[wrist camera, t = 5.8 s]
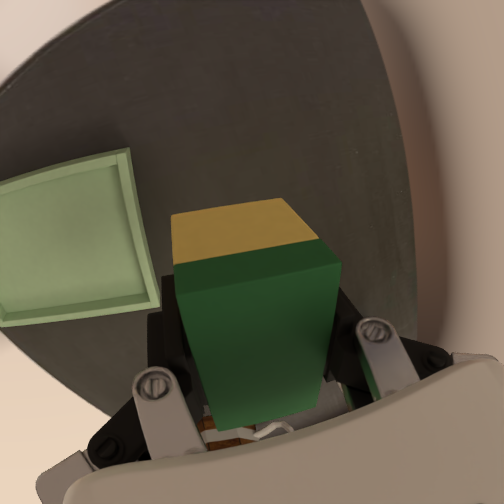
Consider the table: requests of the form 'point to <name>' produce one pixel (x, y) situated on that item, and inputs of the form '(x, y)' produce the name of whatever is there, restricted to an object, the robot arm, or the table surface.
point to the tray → (74, 242)
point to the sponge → (255, 308)
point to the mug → (234, 433)
